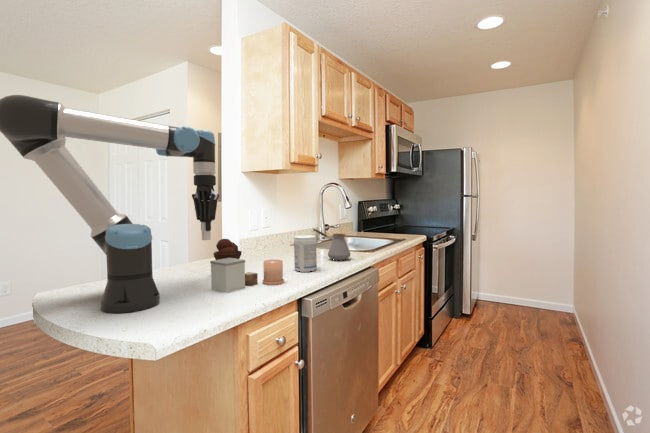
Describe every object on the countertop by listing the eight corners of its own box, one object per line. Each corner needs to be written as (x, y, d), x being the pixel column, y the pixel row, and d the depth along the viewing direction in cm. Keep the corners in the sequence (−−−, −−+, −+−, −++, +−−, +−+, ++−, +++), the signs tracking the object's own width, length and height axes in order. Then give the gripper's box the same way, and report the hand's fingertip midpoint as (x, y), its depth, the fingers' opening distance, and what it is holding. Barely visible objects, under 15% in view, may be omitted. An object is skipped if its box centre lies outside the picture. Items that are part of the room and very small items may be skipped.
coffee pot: (354, 258, 181) (354, 229, 180) (344, 262, 171) (344, 231, 170) (317, 255, 191) (317, 227, 191) (306, 258, 181) (306, 229, 180)
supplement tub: (318, 268, 157) (318, 235, 157) (314, 273, 148) (313, 237, 147) (297, 267, 159) (297, 234, 158) (291, 272, 150) (291, 237, 149)
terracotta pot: (273, 286, 126) (273, 264, 126) (258, 283, 131) (257, 261, 130) (288, 282, 133) (288, 260, 132) (273, 279, 137) (272, 258, 137)
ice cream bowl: (235, 279, 137) (234, 240, 136) (208, 277, 139) (207, 239, 139) (246, 273, 148) (246, 237, 147) (221, 272, 150) (221, 236, 149)
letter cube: (250, 286, 126) (250, 275, 126) (241, 285, 128) (241, 274, 128) (257, 284, 130) (257, 272, 130) (248, 282, 132) (248, 271, 131)
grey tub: (226, 293, 118) (226, 263, 117) (210, 289, 123) (210, 261, 122) (245, 287, 125) (245, 260, 124) (230, 284, 129) (229, 257, 129)
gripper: (224, 174, 128) (226, 240, 129) (202, 175, 135) (204, 237, 137) (207, 173, 122) (208, 242, 123) (184, 174, 129) (186, 239, 131)
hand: (206, 239), depth 130 cm, fingers closed
